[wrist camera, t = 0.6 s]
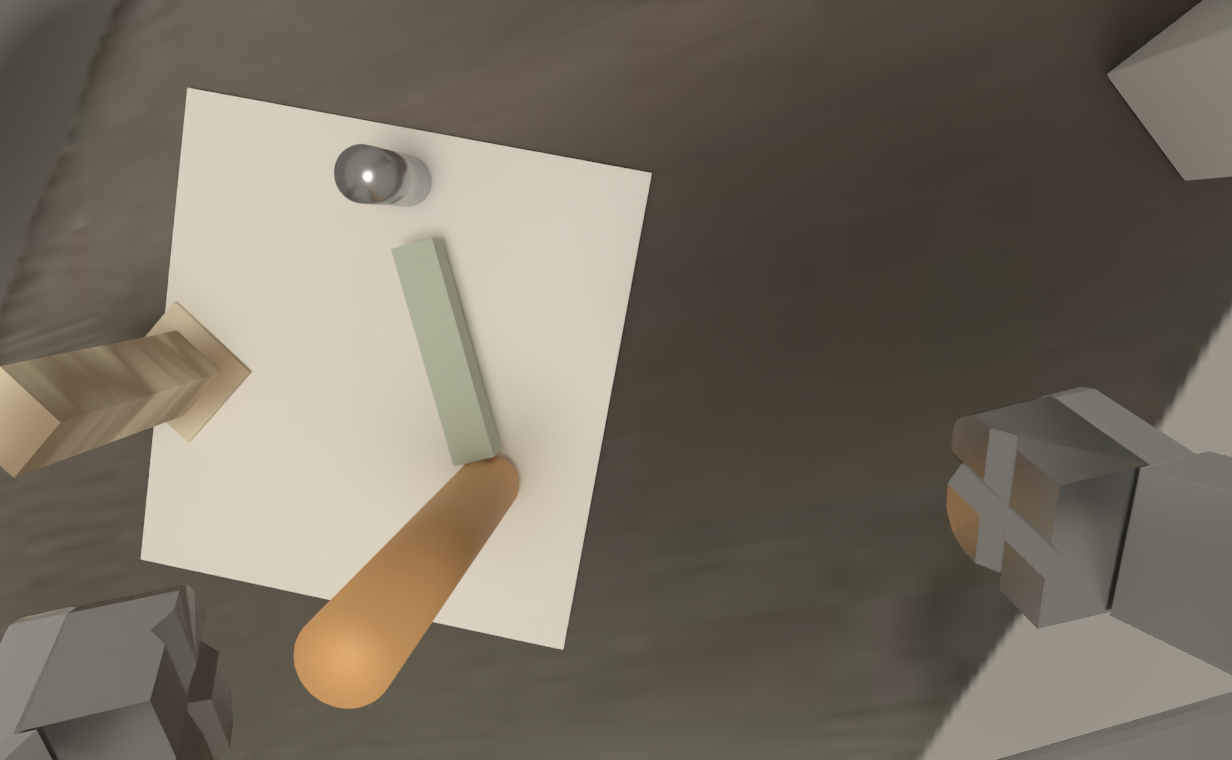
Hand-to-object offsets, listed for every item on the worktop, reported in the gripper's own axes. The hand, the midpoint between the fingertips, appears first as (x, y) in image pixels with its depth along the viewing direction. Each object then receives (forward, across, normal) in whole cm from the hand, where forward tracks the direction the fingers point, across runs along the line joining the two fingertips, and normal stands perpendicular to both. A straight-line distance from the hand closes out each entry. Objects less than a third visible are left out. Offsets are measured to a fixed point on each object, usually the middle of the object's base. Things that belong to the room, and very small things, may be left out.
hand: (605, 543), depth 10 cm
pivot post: (+37, +1, +6) cm, 38 cm away
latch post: (+39, +14, +14) cm, 43 cm away
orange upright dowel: (+33, +1, +14) cm, 36 cm away
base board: (+35, +4, +14) cm, 39 cm away
